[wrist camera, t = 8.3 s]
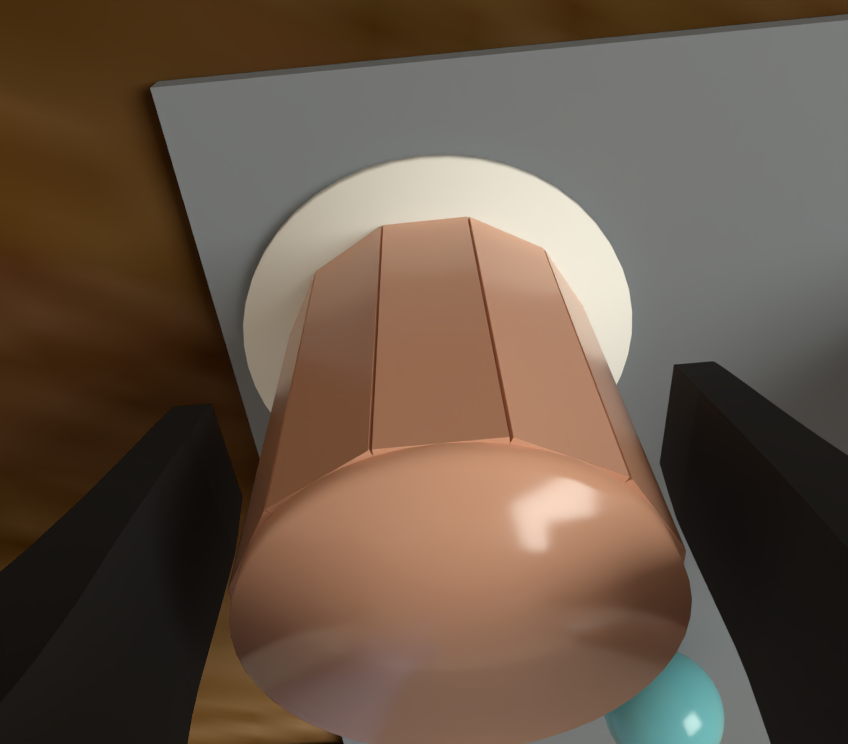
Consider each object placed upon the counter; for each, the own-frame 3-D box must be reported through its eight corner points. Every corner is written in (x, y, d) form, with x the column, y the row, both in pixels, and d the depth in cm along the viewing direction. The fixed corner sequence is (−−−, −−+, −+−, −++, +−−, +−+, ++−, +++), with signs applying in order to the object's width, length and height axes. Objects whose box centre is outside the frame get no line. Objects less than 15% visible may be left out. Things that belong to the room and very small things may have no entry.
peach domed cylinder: (578, 449, 15) (667, 736, 10) (322, 472, 15) (283, 765, 10) (588, 203, 12) (723, 444, 7) (264, 236, 12) (167, 495, 7)
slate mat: (961, 727, 23) (976, 749, 23) (355, 769, 24) (354, 791, 23) (1487, -48, 10) (1550, -44, 10) (157, 81, 11) (144, 92, 10)
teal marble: (692, 683, 21) (732, 793, 18) (589, 690, 21) (614, 801, 18) (708, 620, 19) (754, 732, 16) (594, 628, 19) (623, 741, 16)
